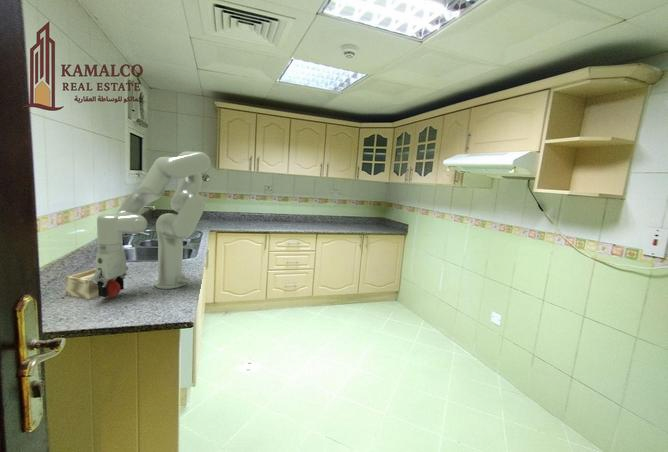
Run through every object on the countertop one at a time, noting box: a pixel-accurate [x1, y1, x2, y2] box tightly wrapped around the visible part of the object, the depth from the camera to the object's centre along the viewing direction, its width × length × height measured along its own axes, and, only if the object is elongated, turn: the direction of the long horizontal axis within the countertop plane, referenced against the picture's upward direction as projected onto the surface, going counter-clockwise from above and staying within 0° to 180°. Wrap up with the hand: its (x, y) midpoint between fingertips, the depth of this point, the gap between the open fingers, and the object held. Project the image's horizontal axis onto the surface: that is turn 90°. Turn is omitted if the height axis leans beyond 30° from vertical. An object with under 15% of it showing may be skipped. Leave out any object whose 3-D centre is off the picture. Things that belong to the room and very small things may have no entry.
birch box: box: [64, 267, 116, 300], centre depth 125 cm, size 11×13×8 cm
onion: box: [106, 279, 122, 299], centre depth 120 cm, size 6×6×8 cm
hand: (111, 292), depth 120 cm, fingers open, 7 cm apart
